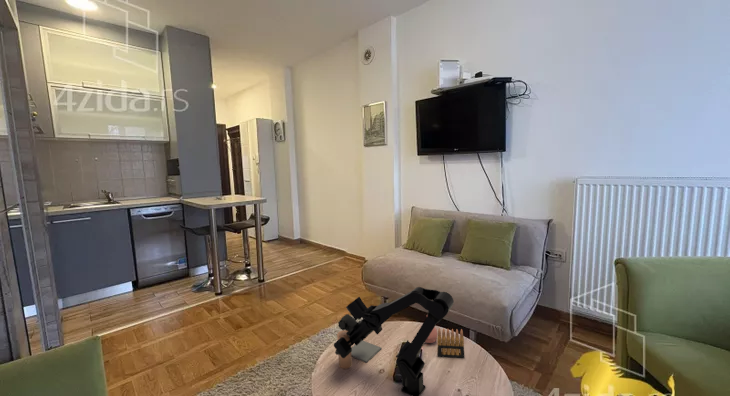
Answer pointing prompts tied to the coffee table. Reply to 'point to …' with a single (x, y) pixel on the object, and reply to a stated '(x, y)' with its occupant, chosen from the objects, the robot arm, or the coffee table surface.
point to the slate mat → (364, 351)
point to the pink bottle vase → (432, 336)
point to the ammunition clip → (445, 344)
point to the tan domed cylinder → (347, 361)
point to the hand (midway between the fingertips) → (341, 348)
